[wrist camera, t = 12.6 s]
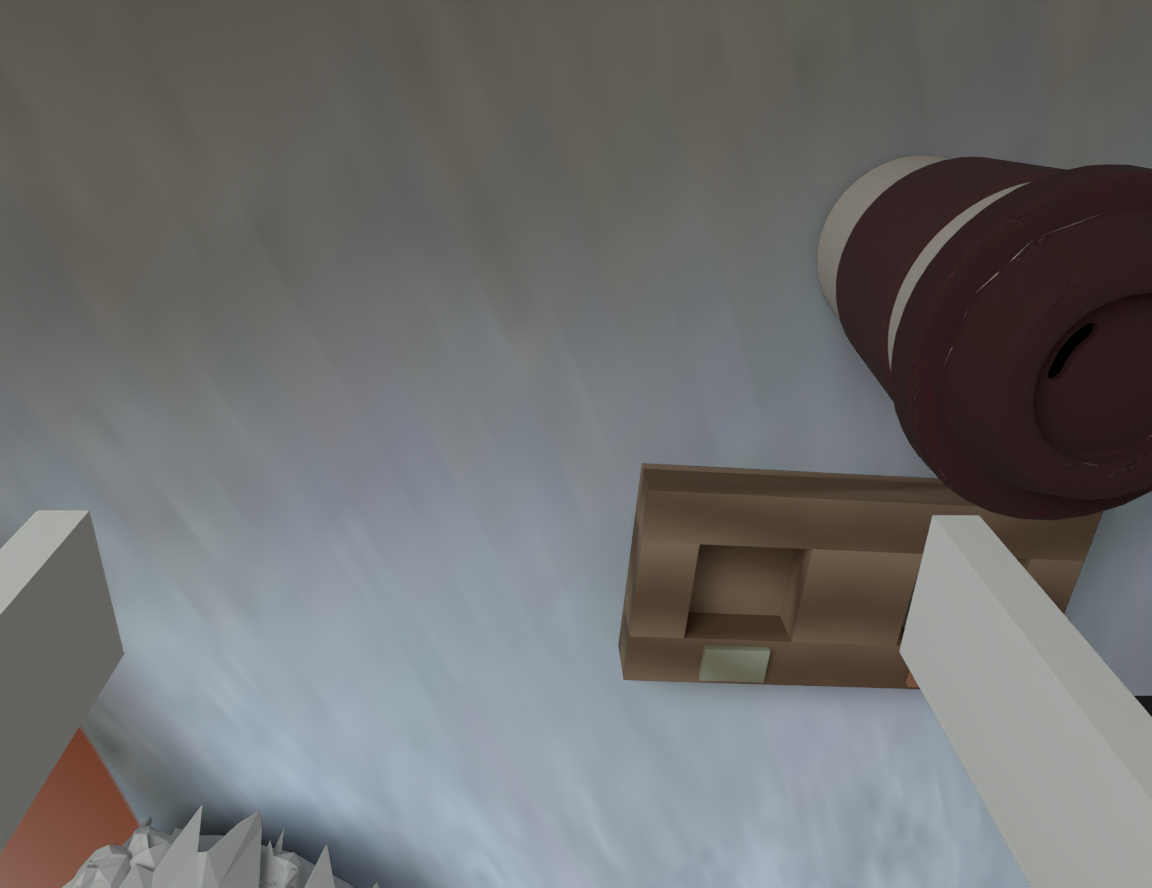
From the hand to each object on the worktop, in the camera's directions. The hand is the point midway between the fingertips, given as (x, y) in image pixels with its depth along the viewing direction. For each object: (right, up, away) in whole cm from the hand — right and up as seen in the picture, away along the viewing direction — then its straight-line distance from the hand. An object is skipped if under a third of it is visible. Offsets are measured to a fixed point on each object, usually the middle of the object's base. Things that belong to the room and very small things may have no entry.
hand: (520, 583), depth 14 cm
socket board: (+13, -4, +28) cm, 32 cm away
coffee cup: (+14, +10, +22) cm, 28 cm away
